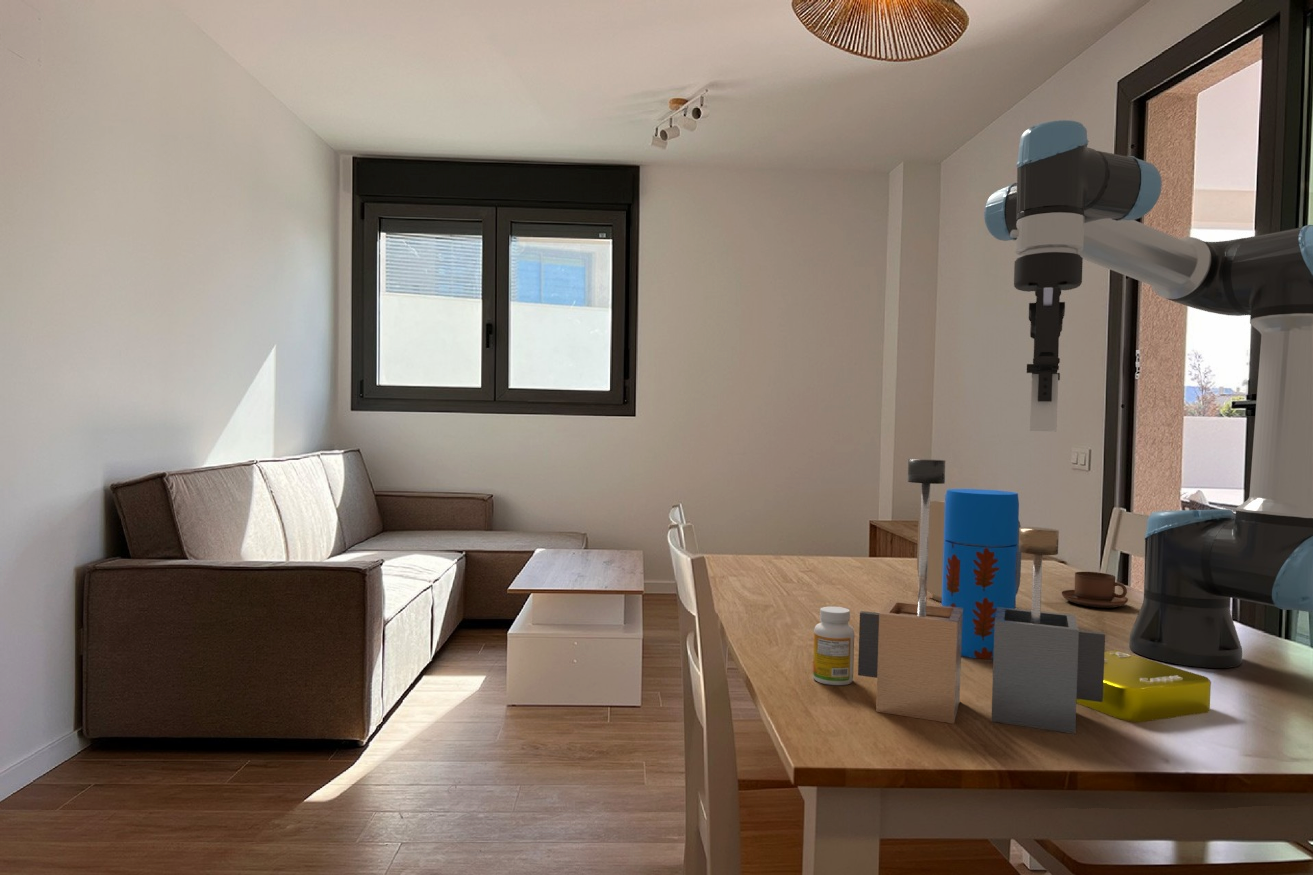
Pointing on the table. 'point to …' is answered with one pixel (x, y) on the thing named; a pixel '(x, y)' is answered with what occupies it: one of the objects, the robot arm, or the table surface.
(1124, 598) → the cup and saucer
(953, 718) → the light wood box
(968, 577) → the thermos
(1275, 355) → the robot arm
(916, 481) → the grey capped rod
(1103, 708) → the element tile
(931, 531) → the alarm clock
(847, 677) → the supplement bottle
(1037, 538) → the tan and silver rod
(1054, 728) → the grey box
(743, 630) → the table surface
